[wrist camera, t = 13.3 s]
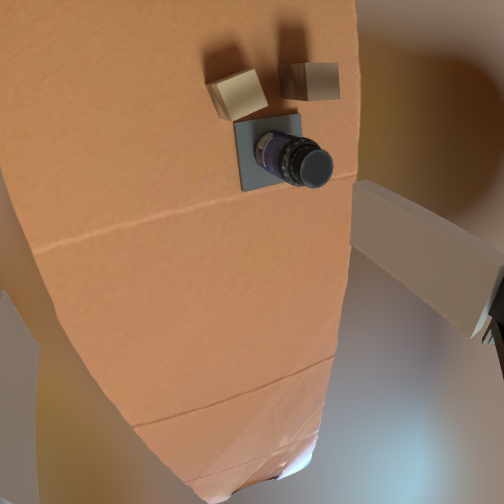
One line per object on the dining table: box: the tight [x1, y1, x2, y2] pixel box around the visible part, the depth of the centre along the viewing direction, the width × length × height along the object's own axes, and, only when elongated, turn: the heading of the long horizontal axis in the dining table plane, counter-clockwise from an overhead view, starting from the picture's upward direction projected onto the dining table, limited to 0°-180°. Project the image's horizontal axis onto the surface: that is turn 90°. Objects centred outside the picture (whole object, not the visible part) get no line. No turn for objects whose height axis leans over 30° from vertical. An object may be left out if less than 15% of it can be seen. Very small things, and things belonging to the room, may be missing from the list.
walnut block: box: [278, 63, 340, 101], centre depth 37 cm, size 5×5×7 cm
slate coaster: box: [233, 113, 302, 192], centre depth 44 cm, size 10×10×1 cm
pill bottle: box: [254, 130, 333, 188], centre depth 39 cm, size 6×6×11 cm
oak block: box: [205, 69, 268, 122], centre depth 36 cm, size 5×5×5 cm
